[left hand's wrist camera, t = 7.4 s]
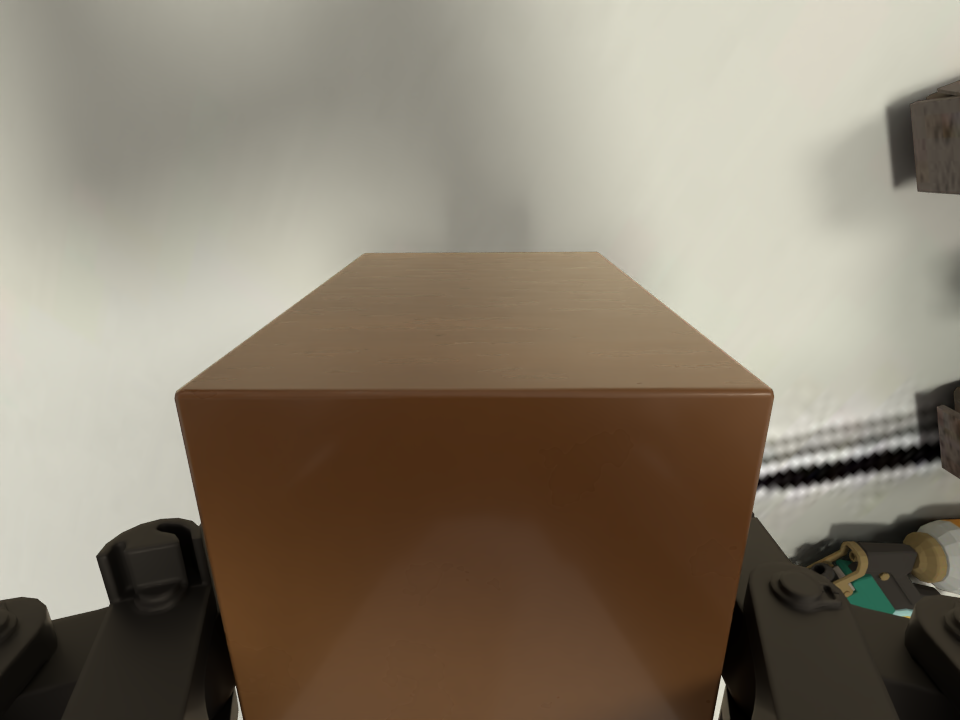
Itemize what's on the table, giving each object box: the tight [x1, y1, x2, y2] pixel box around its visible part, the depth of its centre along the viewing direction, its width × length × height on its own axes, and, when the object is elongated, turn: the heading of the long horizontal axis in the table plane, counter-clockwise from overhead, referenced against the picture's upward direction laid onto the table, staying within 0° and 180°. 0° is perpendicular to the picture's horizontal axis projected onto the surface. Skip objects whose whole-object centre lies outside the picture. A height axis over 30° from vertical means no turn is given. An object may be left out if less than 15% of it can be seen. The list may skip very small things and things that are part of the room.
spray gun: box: [806, 519, 960, 618], centre depth 34 cm, size 4×17×15 cm
